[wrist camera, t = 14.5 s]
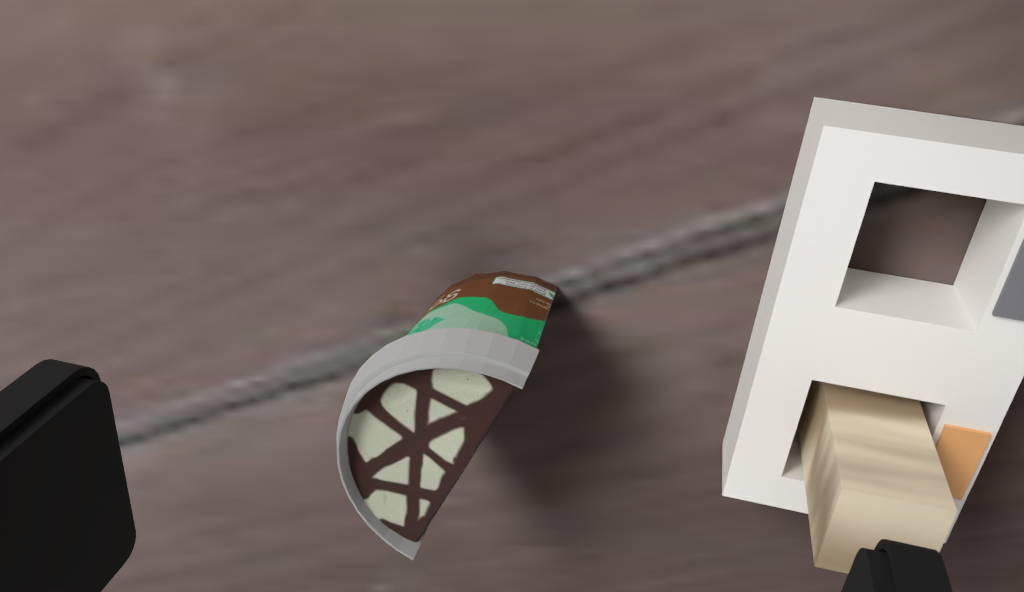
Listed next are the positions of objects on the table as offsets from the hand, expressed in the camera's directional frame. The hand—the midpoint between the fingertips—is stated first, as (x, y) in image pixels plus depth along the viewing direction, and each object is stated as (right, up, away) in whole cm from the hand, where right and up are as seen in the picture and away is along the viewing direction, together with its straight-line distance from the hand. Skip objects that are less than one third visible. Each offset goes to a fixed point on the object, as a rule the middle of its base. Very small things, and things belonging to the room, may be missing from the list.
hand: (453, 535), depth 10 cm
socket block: (+17, +2, +27) cm, 32 cm away
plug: (+17, -1, +30) cm, 34 cm away
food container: (-2, +2, +33) cm, 33 cm away
